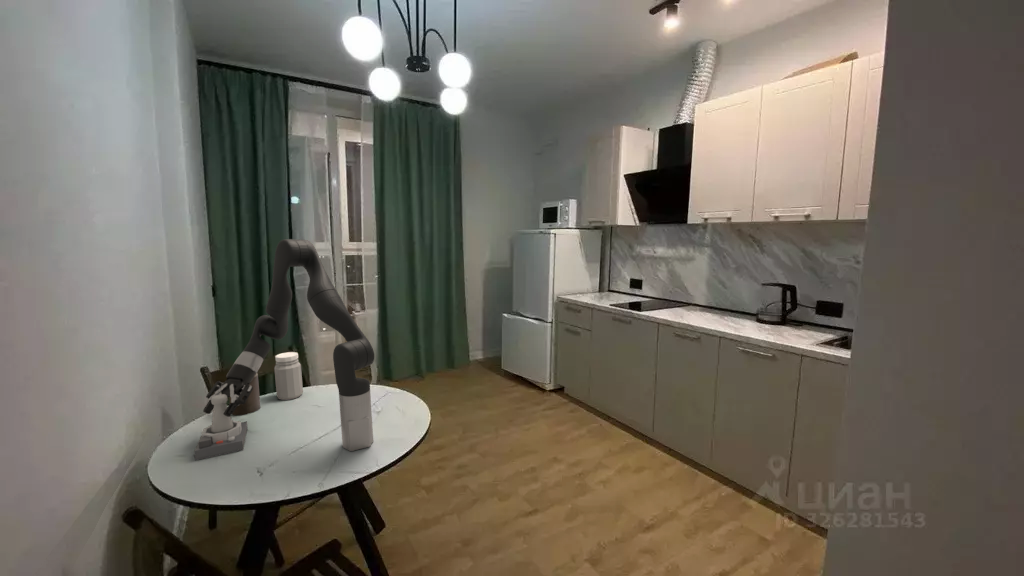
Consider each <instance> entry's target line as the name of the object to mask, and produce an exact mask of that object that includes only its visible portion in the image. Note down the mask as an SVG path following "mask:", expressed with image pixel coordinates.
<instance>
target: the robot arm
mask: <svg viewBox="0 0 1024 576" xmlns="http://www.w3.org/2000/svg"><path fill="white" fill-rule="evenodd" d="M290 267H291V268H292V267H294V268H296V267H297V268H298V267H302V268H304V270H305V271H306V273H307V274H308V277H309V283H308V287H307V291H306V300H307V302H308V304H309V307H310V308H311V311H313V313H314V315H315V317H316V318H317V319H319V320H320V321H321V322H322V323H324V324H325V325H327V326H328V327H330V328H332V329H333V330H335V331H336V332H338V333H339V334H340V335H341V336H342V337H343V339H345V342H341V343H339V344H337V345H336V346H335V347H334V349H333V353H332V358H333V359H332V361H333V369H334V375H335V376H334V377H335V382H336V386H337V389H338V400H339V412H340V429H341V440H342V441H341V445H342V448H343V449H345V450H347V451H349V452H353V451H357V450H362V449H366V448H369V447H371V446H372V444H373V442H374V430H373V429H374V428H373V415H372V412H373V411H372V399H371V397H372V396H371V383H370V380H368V379H367V378H364V377H357V375H356V371H358V370H361V369H363V368H367V367H369V366H371V365H373V363H374V361H375V352H374V349H373V346H372V343H371V342H370V341H369V339H368V338H367V336H366V335H365V334H364V332H363V331H362V329H361V328H360V327H359V325H358V324H357V323H356V322H355V320H354V318H353V316H352V315H351V313H350V312H349V310H348V308H347V307H346V305H345V303H344V301H343V299H342V297H341V295H340V294H339V293H338V291H337V289H336V287H335V286H334V283H332V281H331V279H330V277H329V275H328V274H327V271H326V270H325V267H324V266H323V263H322V260H321V258H320V256H319V253H318V251H317V249H316V247H315V246H314V244H313V242H311V241H310V240H306V239H301V238H300V239H296V238H294V239H293V238H287V239H285V238H284V239H281V240H280V241H279V242H278V243H277V246H276V247H275V252H274V260H273V269H272V271H273V272H272V278H271V279H272V283H271V288H270V293H269V297H268V299H267V303H266V306H265V313H266V314H267V315H266V314H263V315H261V316H259V317H257V319H256V321H255V323H254V327H253V331H252V334H251V337H250V339H249V341H248V343H247V345H246V346H245V348H244V349H243V351H242V352H241V353H240V354H239V356H238V357H237V358H236V360H235V361H234V363H233V364H232V366H231V367H230V369H229V371H228V372H227V374H226V375H225V377H226V380H225V381H224V382H221V381H220V380H217V381H216V382H215V383H214V384H213V386H212V387H211V388H210V390H209V392H208V393H207V394H206V396H205V397H206V398H207V399H208V402H207V403H206V405H205V406H204V408H203V410H202V411H203V413H205V414H208V415H209V414H211V413H212V412H213V409H214V405H213V404H212V403H211V399H212V397H214V396H216V395H220V394H225V395H227V397H228V398H229V397H231V403H230V402H229V403H228V405H227V409H226V410H225V412H224V415H225V416H227V417H230V416H232V414H233V412H234V411H235V409H236V407H237V406H239V405H240V404H245V403H246V401H247V399H248V397H249V395H250V394H251V392H252V390H253V387H252V386H250V385H249V384H250V383H251V381H252V380H253V378H254V376H255V375H256V373H257V374H258V372H259V370H260V369H261V366H262V364H263V362H264V360H265V359H266V357H267V355H268V354H269V352H270V351H271V348H272V347H271V344H270V343H269V342H267V340H264V339H263V337H261V336H264V337H267V338H270V339H273V340H277V341H278V340H282V339H283V338H284V337H286V335H287V333H288V330H289V318H288V317H289V309H290V306H291V303H292V301H293V290H292V287H291V285H290V284H289V281H288V277H287V275H288V271H289V269H290ZM243 396H244V398H243ZM242 398H243V400H242Z"/></svg>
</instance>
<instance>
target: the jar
mask: <svg viewBox="0 0 1024 576" xmlns="http://www.w3.org/2000/svg"><path fill="white" fill-rule="evenodd" d="M274 358H275V365H274V368H273V369H274V379H275V380H274V381H275V387H276V388H275V391H276V397H277V398H278V399H279V400H281V401H289V400H290V401H291V400H295V399H297V398H299V397H300V396H302V394H303V393H304V390H303V385H304V384H303V377H302V376H303V374H302V364H301V363H300V361H299V353H298V352H297V351H296V352H295V351H288V352H282V353H278V354H276V355H274Z"/></svg>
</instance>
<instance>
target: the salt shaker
mask: <svg viewBox="0 0 1024 576" xmlns="http://www.w3.org/2000/svg"><path fill="white" fill-rule="evenodd" d="M228 398H229V397H227V395H225V394H222V393H221V394H220V395H216V396H214V397H212V399H211V403H212V404H213V405H214V408H213V410H212V412H213V413H212V421H211V425H212V427H211V430H212V433H213V434H215V433H220V432H226V431H228V430H230V429H232V428H233V423H232V417H231V416H232V415H231V416H230V417H227V416H225V415H224V412H225V410H226V409H227V407H228V405H227V402H228V401H229V399H228Z"/></svg>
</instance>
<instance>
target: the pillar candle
mask: <svg viewBox="0 0 1024 576" xmlns="http://www.w3.org/2000/svg"><path fill="white" fill-rule="evenodd" d="M249 385H250V386H252V387H253V390H252V392H251V394H250V395H249V397H248V399H247V401H246V403H245V404H240V405H239V406H237V407H236V409H235V411H234V412H233V414H232V415H233V416H246V415H248V414H249V415H250V414H253V413H255V412H257V411H259V410H260V409H261V398H260V386H259V374H258V372H257V373H256V375H255V376H254V378H253V380H252V381H251V383H250V384H249ZM228 398H229V399H228V401H229V404H230V403H231V397H228ZM243 398H244V396H243ZM243 398H242V400H243ZM232 415H231V416H232Z"/></svg>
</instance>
